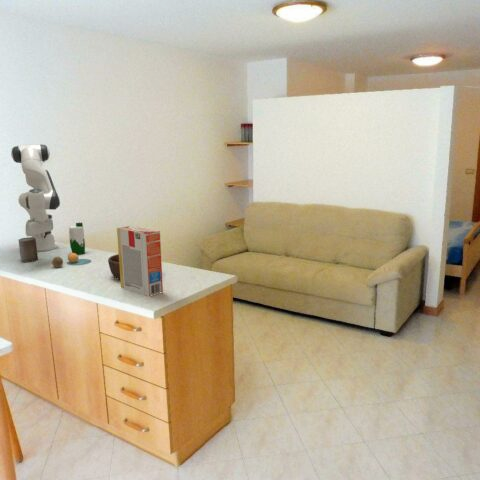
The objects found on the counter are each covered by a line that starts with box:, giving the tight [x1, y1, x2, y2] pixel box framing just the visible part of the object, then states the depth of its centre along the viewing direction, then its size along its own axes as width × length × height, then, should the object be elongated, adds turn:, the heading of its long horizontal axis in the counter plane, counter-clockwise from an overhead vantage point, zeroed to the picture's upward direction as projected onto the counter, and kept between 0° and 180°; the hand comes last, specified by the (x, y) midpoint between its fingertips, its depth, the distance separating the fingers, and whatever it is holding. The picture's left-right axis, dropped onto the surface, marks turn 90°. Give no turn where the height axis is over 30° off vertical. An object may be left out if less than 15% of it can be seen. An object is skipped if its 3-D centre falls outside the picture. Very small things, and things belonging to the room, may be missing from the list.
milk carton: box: [68, 222, 86, 256], centre depth 296 cm, size 9×9×20 cm
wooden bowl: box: [107, 253, 120, 280], centre depth 247 cm, size 25×25×10 cm
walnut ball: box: [51, 256, 64, 268], centre depth 265 cm, size 6×6×6 cm
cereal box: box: [116, 225, 164, 297], centre depth 220 cm, size 23×8×30 cm, turn 48°
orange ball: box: [67, 252, 79, 263], centre depth 274 cm, size 6×6×6 cm
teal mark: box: [66, 258, 92, 266], centre depth 276 cm, size 14×14×1 cm
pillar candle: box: [18, 236, 39, 263], centre depth 281 cm, size 10×10×15 cm
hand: (40, 241), depth 266 cm, fingers closed
